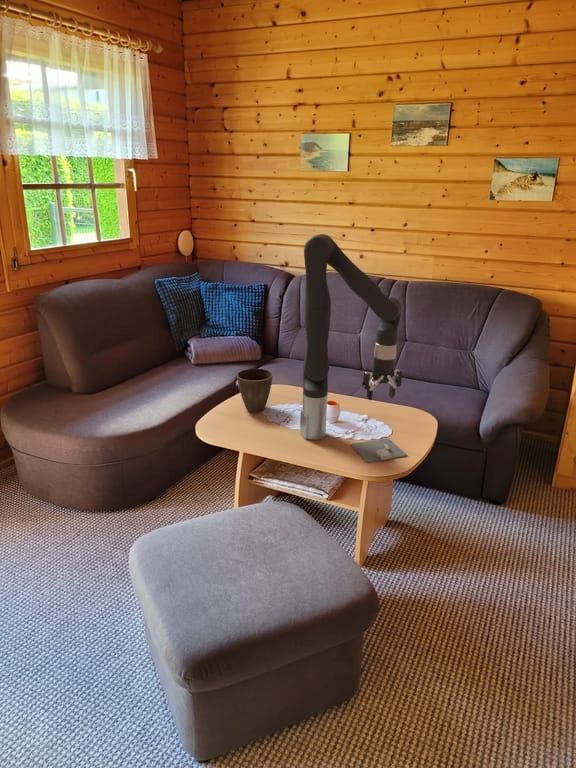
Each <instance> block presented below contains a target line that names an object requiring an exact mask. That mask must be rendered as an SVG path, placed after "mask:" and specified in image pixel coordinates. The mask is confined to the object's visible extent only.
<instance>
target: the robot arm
mask: <svg viewBox="0 0 576 768" xmlns="http://www.w3.org/2000/svg"><path fill="white" fill-rule="evenodd" d="M303 258H304V268H305V290H304V293H305V294H304V297H305V298H304V324H305V325H304V327H305V335H306V354H305V357H304V359H303V370H302V371H303V373H302V374H303V378H302V410H300V419H299V421H300V424H299V425H300V426H299V428H300V429H299V434H300V435H301V436H302V437H303V439H305V440H310V441H319V440H322V439H324V438H325V437H326V435H327V434H326V433H327V415H328V414H327V413H328V411H327V410H328V393H329V392H328V391H329V386H328V385H329V380H328V379H329V371H330V362H329V352H328V351H329V349H328V347H329V346H328V343H329V342H328V341H329V334H330V329H331V328H330V326H331V318H332V317H331V316H332V314H331V312H332V311H331V310H332V301H331V294H330V290H329V286H328V281H327V272H328V266H329V267H331V268H332V269H333V270H334V271H335V272H337V273H338V274H339V276H340V277H341V278H342V279H343V281H344V282H345V284H346V285H347V286H348V287H349V289H350V290H352V292H354V294H356V295H357V297H359V298H360V299H361V300H362V301H364V302H365V303H366V304H367V306H368V307H369V308H370V309H371V311H373V313H374V314H375V315H376V316H377V317H378V319H380V320H379V325H378V328H377V331H376V337H375V346H374V350H373V351H374V353H373V362H372V371H371V372H370V371H369V372H368V371H366V370H365V371H364V372H363V377H362V378H363V379H362V384H361V386H362V388H364V390H366V398H367V400H368V401H372V400H373V393H374V391H373V389H374V388H375V387H377V386H378V384H379V385H380V384H389V392H388V397H389V398H390V399H393V398H394V397H395V396H396V390H397V387H401V386H402V379H403V378H402V377H403V376H402V374H403V371H401V370H400V369H399V368H396V369H395V366H396V365H395V364H396V357H397V341H398V329H399V326H400V320H401V315H402V304H401V301H400V300H399V299H398V298H396V297H391V296H390V297H388V296H386V294H385V293H383V291H382V289H381V287H380V286H379V285H378V283H376V282H375V281H374V280H373V279H372V278H370V277H369V276H368V275H367V274H366V273H365V272H364V271H362V269H360V268H359V267H358V266H357V265H356V264H355V263H354V262H353V261H352V260H351V259H350V258H349V257H348V256H347V255H346V254H345V253H344V252H343V251H342V249H341V248H340V246H338V244H337V243H336V241H334V239H332V237H331V236H329V235H328V234H326V233H324V234H323V233H321V234H316V235H313V236H310V237H309V238H308V239H307V240H306V242H305V244H304V248H303ZM394 376H395V377H394ZM393 377H394V380H393Z"/></svg>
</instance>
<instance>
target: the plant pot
mask: <svg viewBox="0 0 576 768" xmlns="http://www.w3.org/2000/svg"><path fill="white" fill-rule="evenodd" d="M273 376H274V373H273V372H272V371H270V370H268V369H265V368H247V369H242V370H240V371H238V373H236V378H237V384H238V388H239V391H240V395H241V398H242V402H243V404H244V406H245V407H244V408H245V409H246V411H247V412H248V413H254V414H258V413H261V412H263V411H265V408H266V406H267V402H268V399H269V397H270V393H271V388H272V383H273Z"/></svg>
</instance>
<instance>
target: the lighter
mask: <svg viewBox="0 0 576 768" xmlns="http://www.w3.org/2000/svg"><path fill="white" fill-rule="evenodd" d="M383 448H384V449H382V450H381V449H379V450H377V451H376V452H375V455H376V456H377V457H378V458H380V459H381V460H382V461H387V459H388V460H392V459H391V458H392V454H391V453H389V448H388V444H384V446H383Z"/></svg>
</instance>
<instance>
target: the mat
mask: <svg viewBox="0 0 576 768" xmlns="http://www.w3.org/2000/svg"><path fill="white" fill-rule="evenodd" d="M384 444H388V448H389V453H391V454H392V458H391V459H390V460H393V459H399V457H400V458H404V457H405V456H406V457H408V454H407V453H406V452H405V451H404V450H402V449H401V448H400V447H399V446H398V445H397V443H394V442H393V440H391V439H390V438H388V437H387V438H382V439H375V440H369V441H368V440H367V441H362V442H354V443H350V444H349V445H350V446H351V448H352V449H353V450H354V451H355V452H356V453H357V454H358V455H359V456H360V457H361V458H362V459H363V460H364V461H365V462H366V463H367V464H369V463H374V462H381V461H383V460H381V459H380V458H378V457H377V456H376V455H375V452H376V451H377V450H379V449H381V450H382V449H384V448H383V446H384ZM406 457H405V458H406ZM387 460H389V459H387ZM387 460H386V461H387Z"/></svg>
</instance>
